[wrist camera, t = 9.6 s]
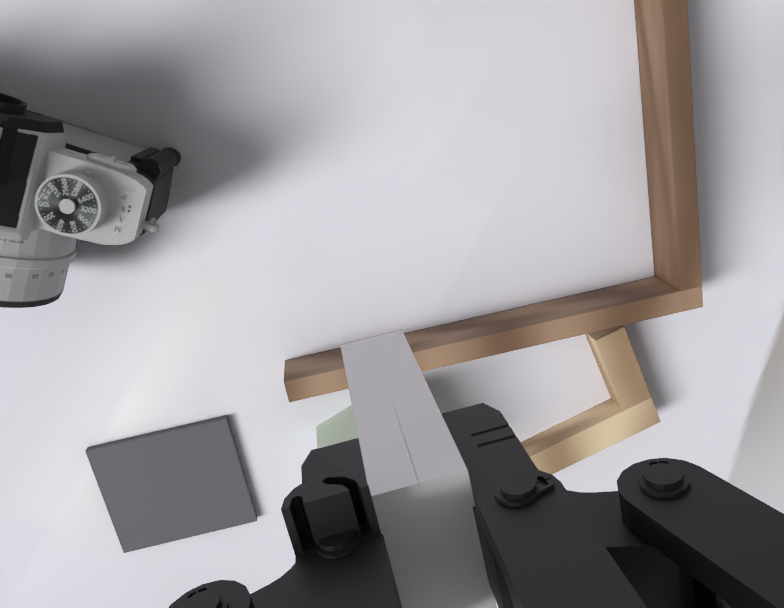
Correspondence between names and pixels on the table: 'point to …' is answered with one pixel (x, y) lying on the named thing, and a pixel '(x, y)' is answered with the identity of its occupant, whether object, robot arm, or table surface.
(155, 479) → the pad
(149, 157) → the camera
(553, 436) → the crook
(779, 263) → the table surface
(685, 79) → the brown wooden u frame
